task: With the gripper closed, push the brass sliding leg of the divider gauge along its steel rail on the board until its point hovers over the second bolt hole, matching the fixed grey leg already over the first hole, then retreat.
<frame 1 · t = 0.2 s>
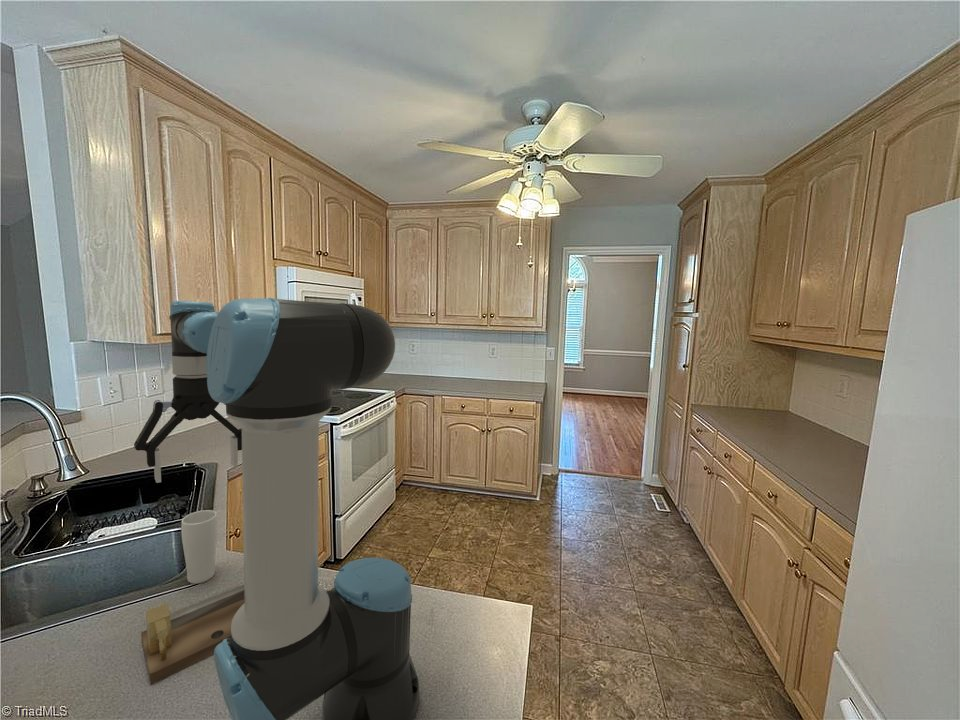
hand: (198, 472, 85), 28 cm above the worktop, fingers open, 13 cm apart
drinking glass: (201, 578, 92), on the worktop
sliding leg: (160, 633, 70), point 5 cm above the worktop, slide at 0.0 cm
hole board: (224, 626, 78), on the worktop
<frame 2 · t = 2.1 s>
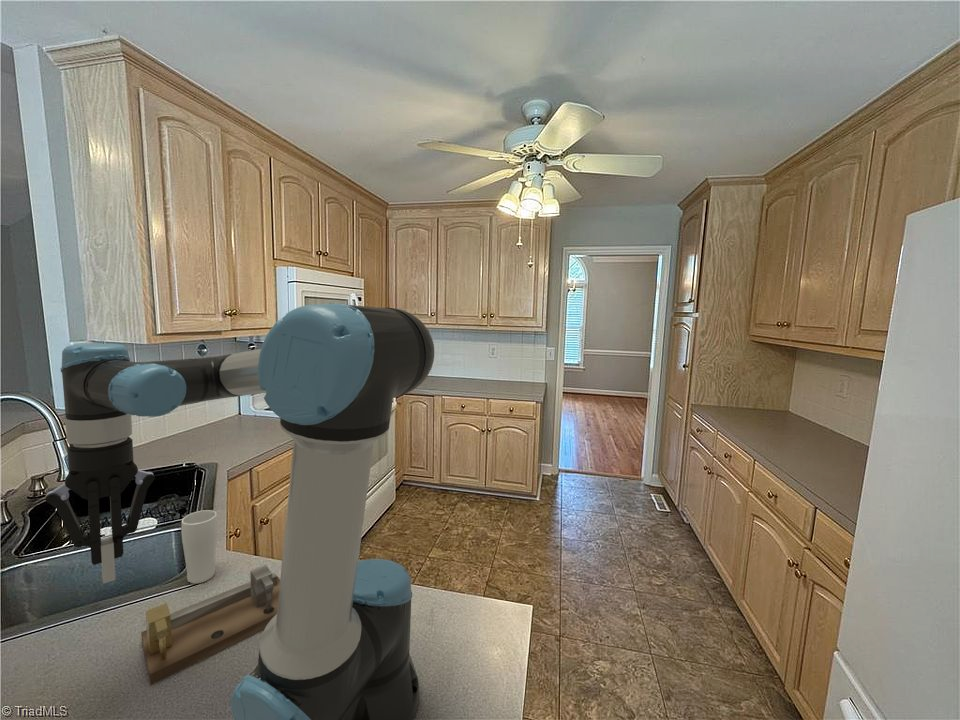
hand: (108, 577, 65), 18 cm above the worktop, fingers closed
nothing on the worktop moved.
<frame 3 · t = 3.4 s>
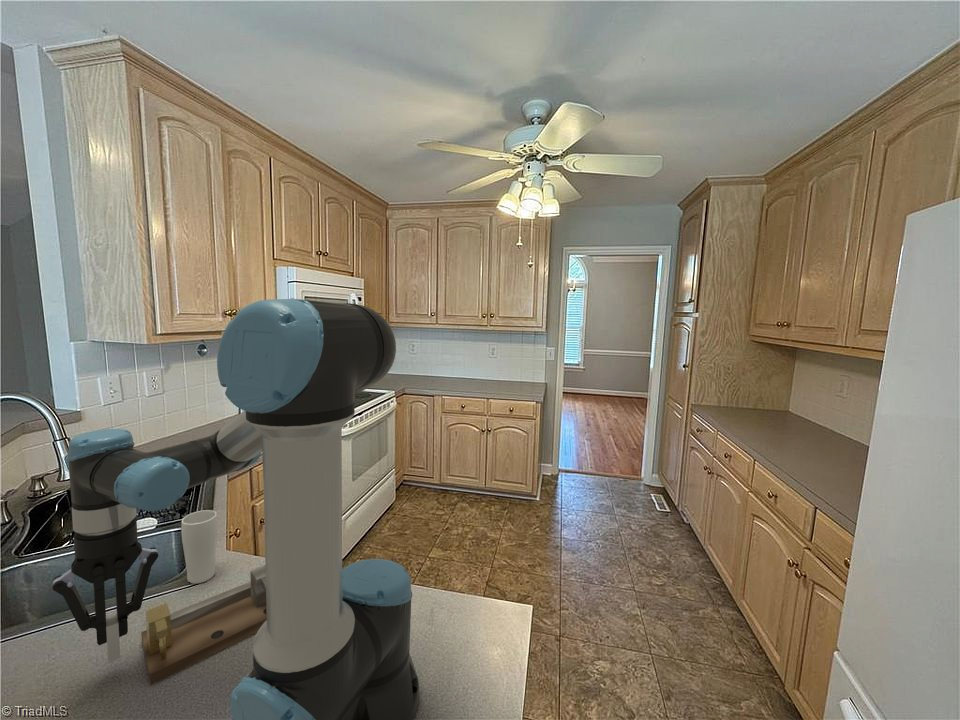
hand: (113, 655, 67), 4 cm above the worktop, fingers closed
nothing on the worktop moved.
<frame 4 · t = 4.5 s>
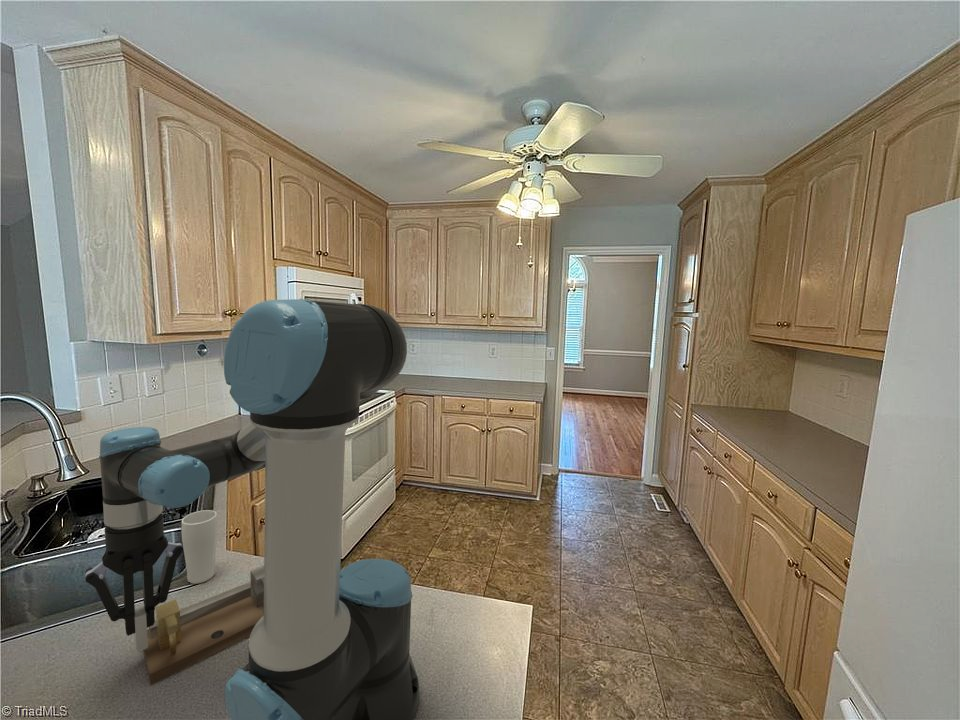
hand: (141, 645, 69), 3 cm above the worktop, fingers closed
sliding leg: (169, 629, 71), point 5 cm above the worktop, slide at 1.4 cm, touching gripper
everything else where it was.
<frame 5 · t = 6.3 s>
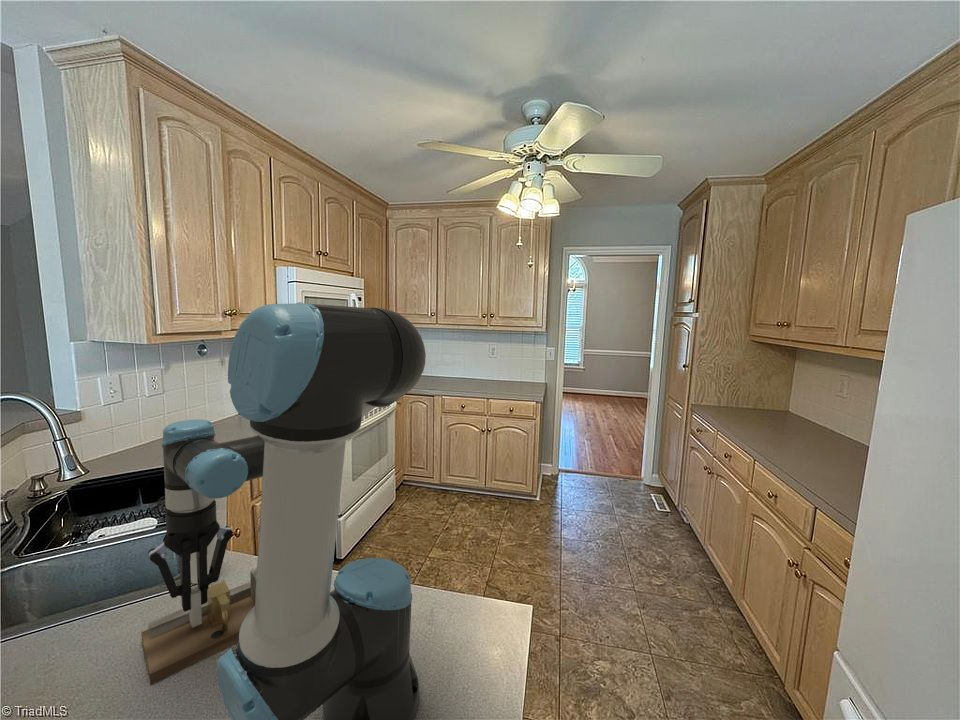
hand: (195, 621, 75), 3 cm above the worktop, fingers closed
sliding leg: (220, 607, 77), point 5 cm above the worktop, slide at 9.3 cm, touching gripper
everything else where it was.
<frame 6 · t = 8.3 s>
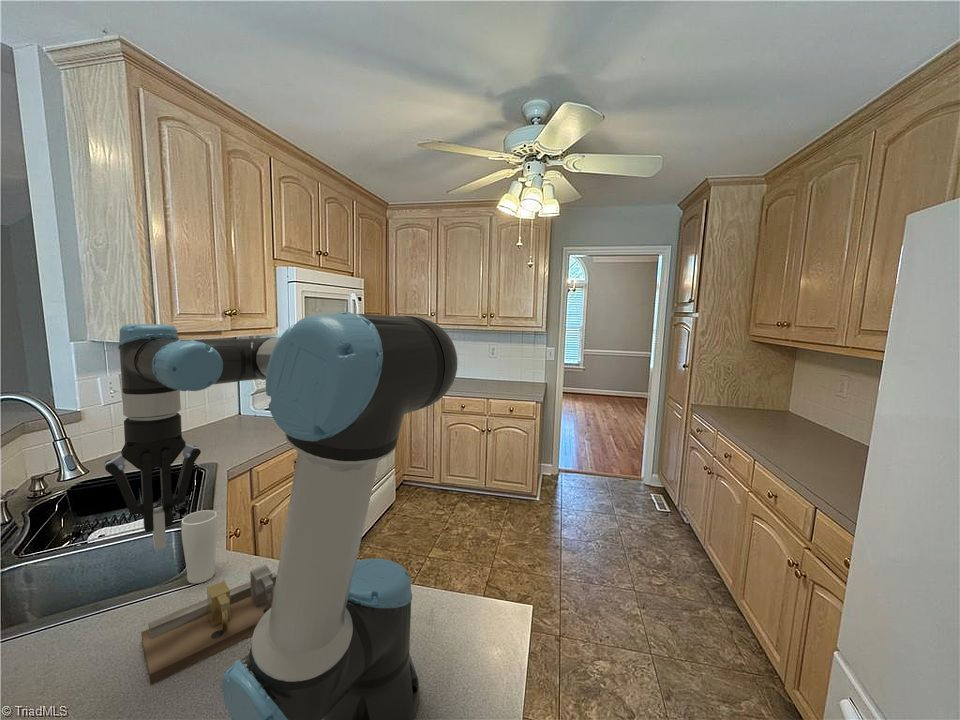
hand: (159, 545, 69), 21 cm above the worktop, fingers closed
sliding leg: (220, 607, 77), point 5 cm above the worktop, slide at 9.3 cm
everything else where it was.
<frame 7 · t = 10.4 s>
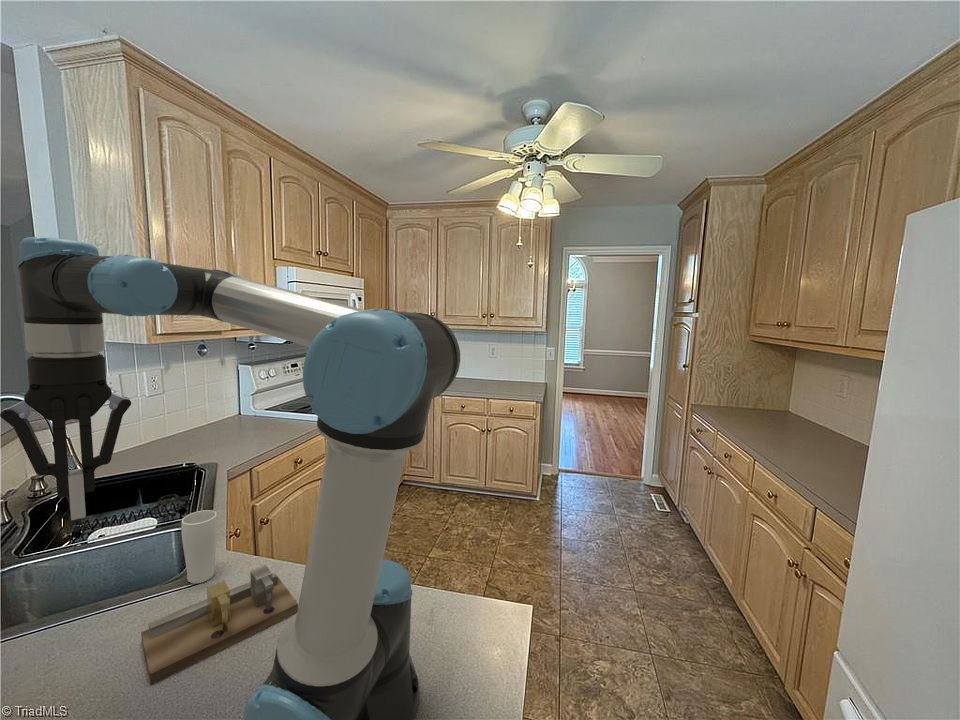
hand: (78, 514, 57), 32 cm above the worktop, fingers closed
nothing on the worktop moved.
at the end: sliding leg slide at 9.3 cm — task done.
